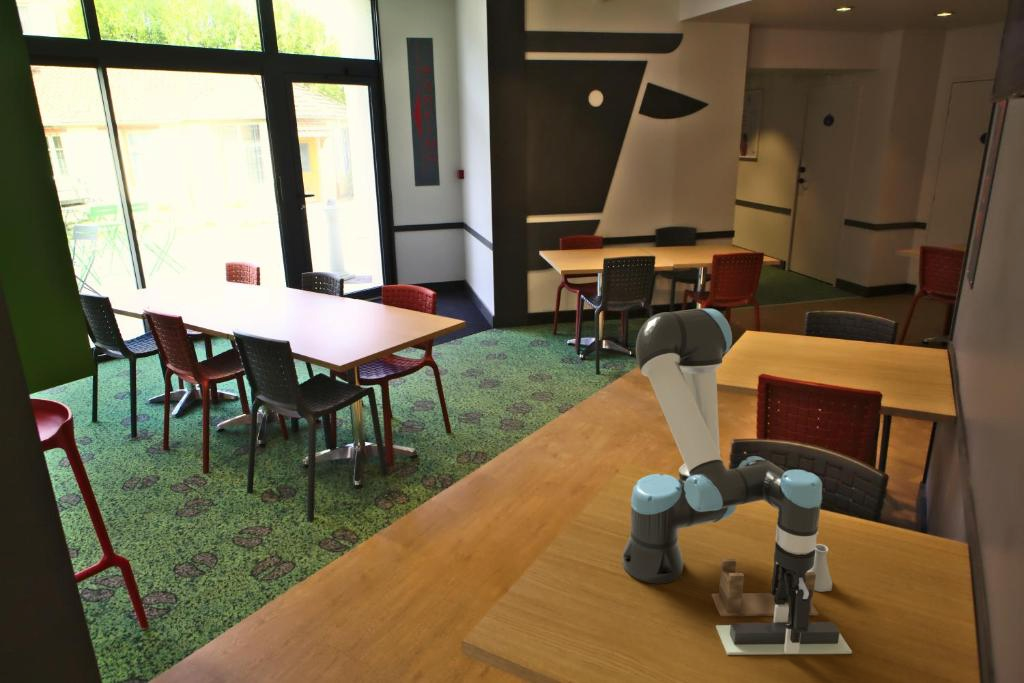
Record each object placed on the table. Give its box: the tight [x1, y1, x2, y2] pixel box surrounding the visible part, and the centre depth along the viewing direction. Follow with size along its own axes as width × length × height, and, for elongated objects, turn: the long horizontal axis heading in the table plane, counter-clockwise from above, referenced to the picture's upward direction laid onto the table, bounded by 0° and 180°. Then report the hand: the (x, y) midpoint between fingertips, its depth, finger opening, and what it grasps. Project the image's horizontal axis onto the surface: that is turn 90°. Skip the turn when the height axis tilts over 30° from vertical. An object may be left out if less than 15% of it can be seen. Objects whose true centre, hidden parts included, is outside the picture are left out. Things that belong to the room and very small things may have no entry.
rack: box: [711, 558, 819, 617], centre depth 149 cm, size 22×7×10 cm, turn 90°
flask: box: [807, 543, 833, 593], centre depth 156 cm, size 7×7×10 cm
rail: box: [730, 621, 841, 645], centre depth 139 cm, size 22×3×3 cm, turn 90°
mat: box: [715, 624, 853, 656], centre depth 139 cm, size 26×8×1 cm, turn 90°
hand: (785, 641), depth 138 cm, fingers open, 6 cm apart
